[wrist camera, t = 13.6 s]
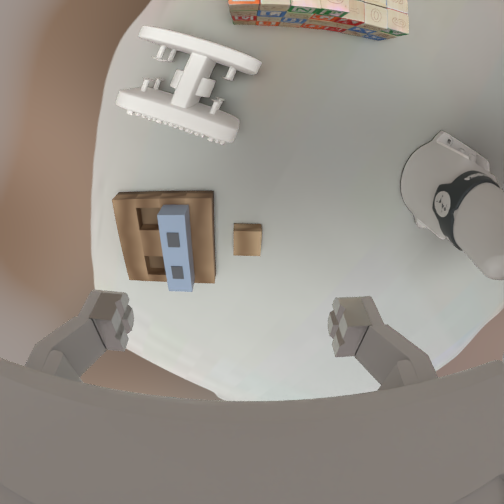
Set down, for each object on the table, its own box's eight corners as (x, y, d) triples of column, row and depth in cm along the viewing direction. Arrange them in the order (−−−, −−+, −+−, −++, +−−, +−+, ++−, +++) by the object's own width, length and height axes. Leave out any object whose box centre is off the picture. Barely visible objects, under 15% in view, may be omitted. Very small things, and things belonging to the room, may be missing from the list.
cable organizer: (264, 68, 34) (272, 63, 24) (234, 132, 39) (230, 150, 29) (166, 35, 30) (138, 22, 20) (140, 100, 35) (106, 109, 26)
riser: (261, 224, 47) (261, 231, 45) (259, 247, 50) (260, 255, 48) (234, 223, 47) (233, 231, 45) (234, 247, 50) (233, 255, 48)
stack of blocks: (378, 7, 27) (420, -9, 17) (378, 41, 30) (422, 34, 20) (232, -11, 26) (228, -43, 16) (232, 25, 30) (227, 4, 20)
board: (213, 190, 44) (211, 198, 42) (215, 272, 53) (214, 283, 50) (118, 192, 43) (112, 199, 41) (134, 270, 52) (129, 279, 50)
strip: (190, 200, 43) (184, 215, 39) (196, 272, 51) (192, 292, 47) (165, 200, 43) (156, 215, 39) (174, 271, 51) (168, 291, 46)
